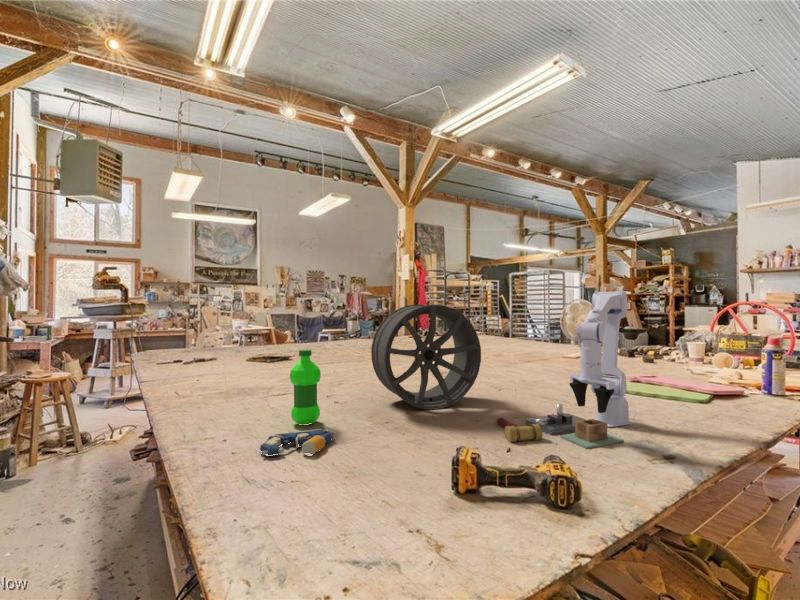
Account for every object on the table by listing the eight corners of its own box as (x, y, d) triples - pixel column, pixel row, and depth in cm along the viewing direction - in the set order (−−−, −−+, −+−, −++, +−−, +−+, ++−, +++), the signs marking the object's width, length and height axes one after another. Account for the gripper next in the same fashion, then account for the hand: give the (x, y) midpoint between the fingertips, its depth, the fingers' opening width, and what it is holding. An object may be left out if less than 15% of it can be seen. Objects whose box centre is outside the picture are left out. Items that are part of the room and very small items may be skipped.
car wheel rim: (385, 414, 148) (384, 305, 148) (371, 402, 166) (370, 304, 166) (481, 404, 160) (480, 304, 161) (458, 394, 179) (458, 303, 179)
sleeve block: (593, 433, 123) (592, 418, 123) (607, 439, 118) (607, 423, 118) (575, 436, 120) (575, 421, 120) (589, 442, 116) (588, 426, 116)
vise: (567, 417, 142) (567, 397, 142) (595, 427, 130) (595, 406, 130) (524, 424, 135) (523, 403, 135) (549, 435, 124) (549, 412, 124)
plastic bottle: (283, 426, 135) (283, 351, 135) (302, 417, 145) (302, 347, 145) (309, 429, 131) (308, 352, 131) (326, 420, 141) (326, 348, 141)
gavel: (483, 413, 138) (510, 411, 139) (483, 427, 137) (511, 425, 139) (510, 428, 117) (542, 426, 119) (511, 444, 117) (543, 442, 118)
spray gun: (339, 454, 110) (333, 437, 125) (339, 438, 110) (332, 424, 125) (259, 465, 104) (262, 447, 119) (258, 449, 105) (261, 432, 119)
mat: (596, 431, 126) (595, 429, 126) (623, 442, 117) (623, 439, 117) (560, 437, 121) (560, 435, 121) (586, 448, 112) (586, 446, 112)
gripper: (562, 360, 125) (562, 404, 125) (600, 367, 111) (601, 417, 111) (579, 359, 127) (580, 402, 127) (619, 365, 114) (620, 414, 114)
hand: (591, 409), depth 119 cm, fingers open, 7 cm apart
